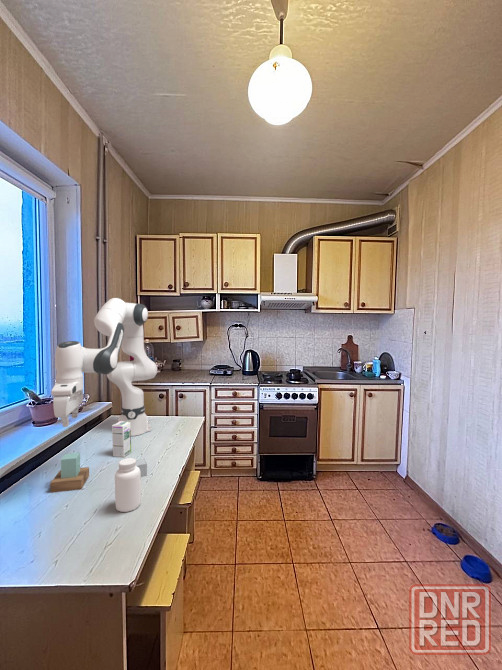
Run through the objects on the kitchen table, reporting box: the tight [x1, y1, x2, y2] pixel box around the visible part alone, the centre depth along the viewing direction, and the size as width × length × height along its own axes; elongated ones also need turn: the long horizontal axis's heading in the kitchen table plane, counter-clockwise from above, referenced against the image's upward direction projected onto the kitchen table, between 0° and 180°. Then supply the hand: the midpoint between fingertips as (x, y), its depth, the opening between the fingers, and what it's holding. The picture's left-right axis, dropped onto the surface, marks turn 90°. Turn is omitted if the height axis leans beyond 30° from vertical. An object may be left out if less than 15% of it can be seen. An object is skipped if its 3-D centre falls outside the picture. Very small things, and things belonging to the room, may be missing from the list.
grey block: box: [136, 458, 148, 478], centre depth 124 cm, size 5×5×5 cm
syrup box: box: [111, 421, 132, 458], centre depth 142 cm, size 6×6×14 cm
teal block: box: [60, 452, 81, 478], centre depth 116 cm, size 5×5×7 cm
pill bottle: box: [114, 457, 142, 513], centre depth 103 cm, size 8×8×15 cm
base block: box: [50, 466, 90, 494], centre depth 116 cm, size 10×10×4 cm
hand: (70, 421), depth 116 cm, fingers open, 8 cm apart
